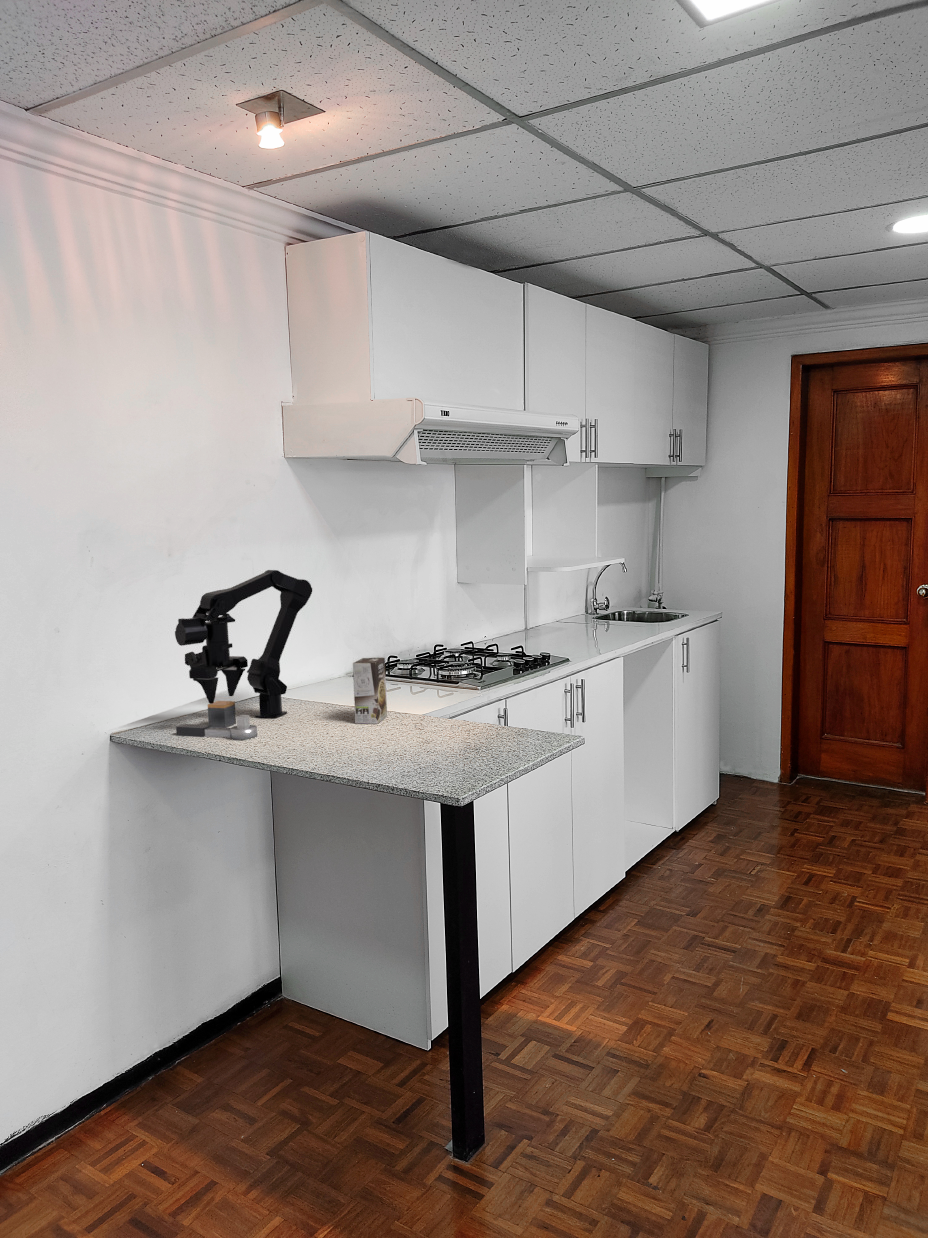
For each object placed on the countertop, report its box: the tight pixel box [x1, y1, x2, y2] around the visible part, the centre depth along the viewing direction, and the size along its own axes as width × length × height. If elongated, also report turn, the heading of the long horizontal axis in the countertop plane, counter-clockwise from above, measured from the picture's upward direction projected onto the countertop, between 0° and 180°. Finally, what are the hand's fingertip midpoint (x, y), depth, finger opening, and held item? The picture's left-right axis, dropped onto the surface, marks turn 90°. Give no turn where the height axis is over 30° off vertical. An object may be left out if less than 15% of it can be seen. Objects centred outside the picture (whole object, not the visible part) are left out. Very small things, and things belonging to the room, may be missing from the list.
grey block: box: [207, 700, 237, 728], centre depth 243 cm, size 5×5×6 cm
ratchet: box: [175, 714, 258, 741], centre depth 232 cm, size 6×22×5 cm, turn 71°
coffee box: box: [352, 657, 388, 725], centre depth 243 cm, size 9×6×16 cm
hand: (221, 699), depth 243 cm, fingers open, 9 cm apart
